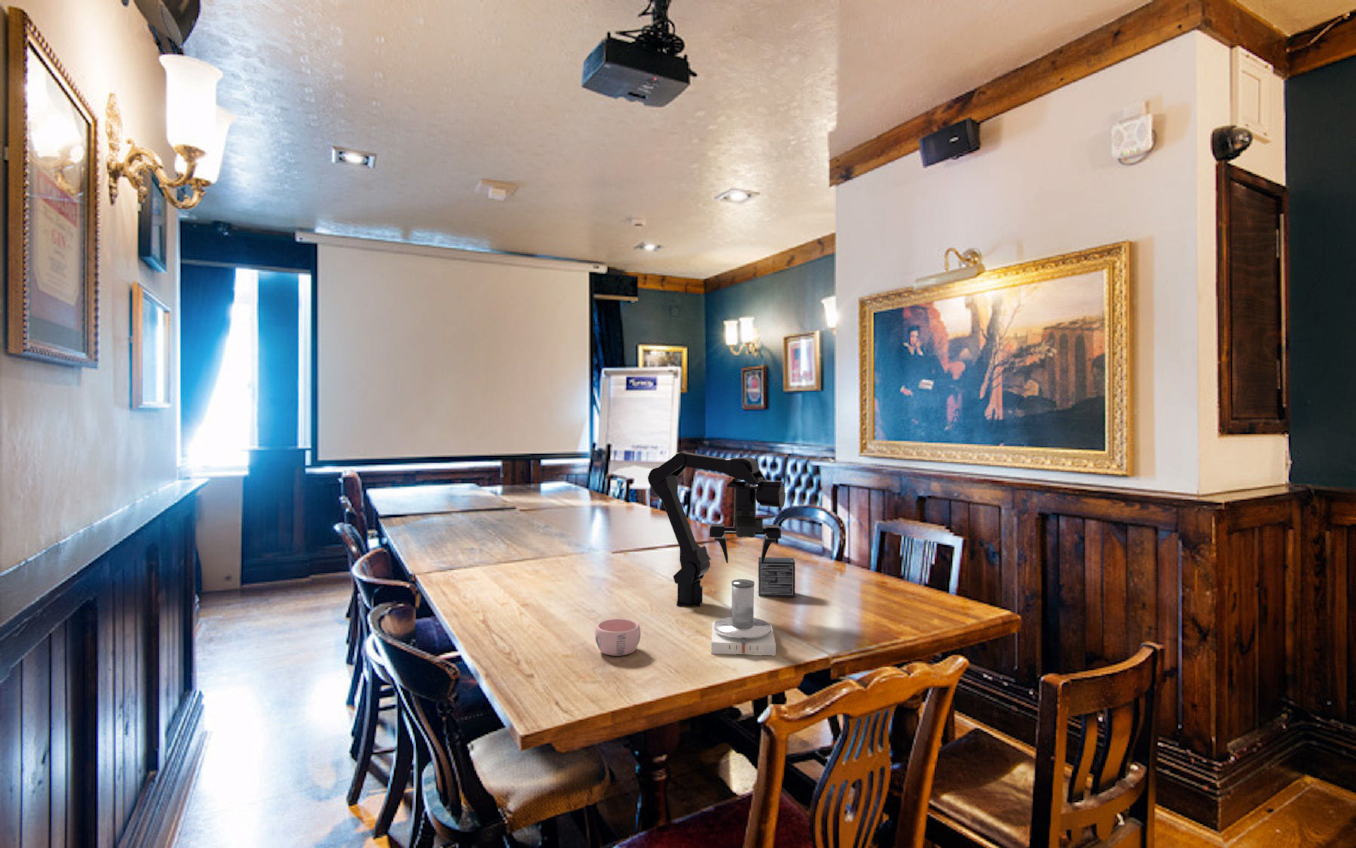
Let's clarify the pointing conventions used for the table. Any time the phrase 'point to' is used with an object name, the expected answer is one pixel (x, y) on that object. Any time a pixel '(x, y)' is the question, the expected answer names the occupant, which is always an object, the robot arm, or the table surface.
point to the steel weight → (742, 604)
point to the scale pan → (742, 630)
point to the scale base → (734, 645)
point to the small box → (776, 577)
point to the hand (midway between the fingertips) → (744, 563)
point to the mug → (617, 636)
